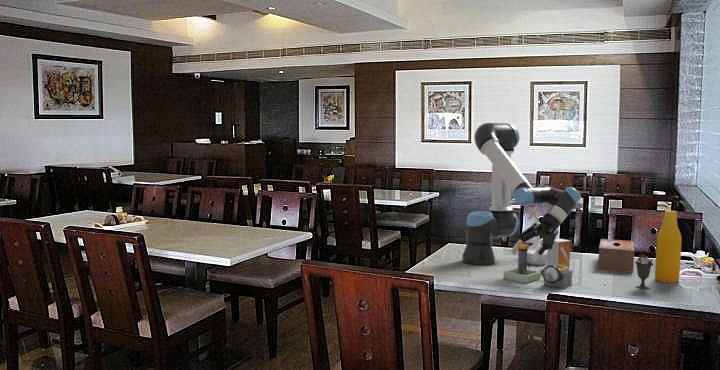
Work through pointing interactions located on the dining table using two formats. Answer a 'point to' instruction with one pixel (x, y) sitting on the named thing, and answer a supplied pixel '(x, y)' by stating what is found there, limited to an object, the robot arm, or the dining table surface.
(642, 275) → the sundae
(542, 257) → the ramekin
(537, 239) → the flower in vase
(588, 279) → the dining table surface
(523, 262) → the orange capped bottle
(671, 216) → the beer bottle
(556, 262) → the small box
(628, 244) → the tissue box cover
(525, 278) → the tray
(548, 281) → the tensioner block
